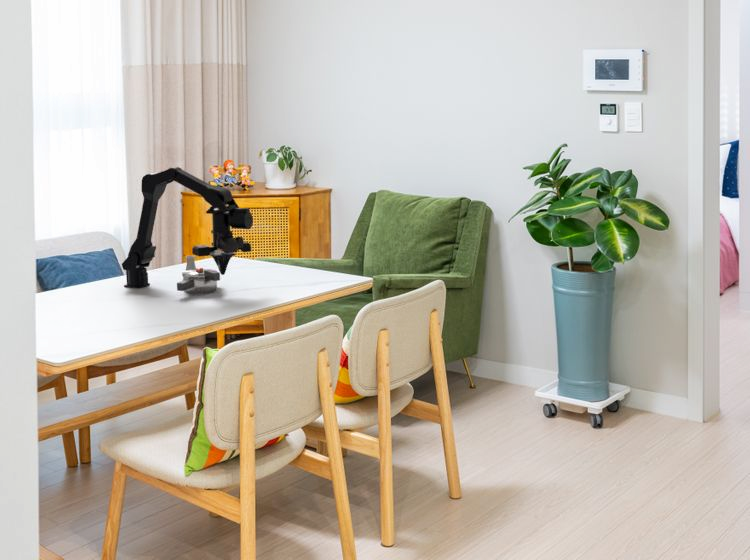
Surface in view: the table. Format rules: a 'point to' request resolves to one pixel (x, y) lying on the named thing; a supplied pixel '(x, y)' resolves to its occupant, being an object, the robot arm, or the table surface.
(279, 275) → the table surface
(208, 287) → the pot
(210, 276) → the lid
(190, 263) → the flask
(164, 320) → the table surface
